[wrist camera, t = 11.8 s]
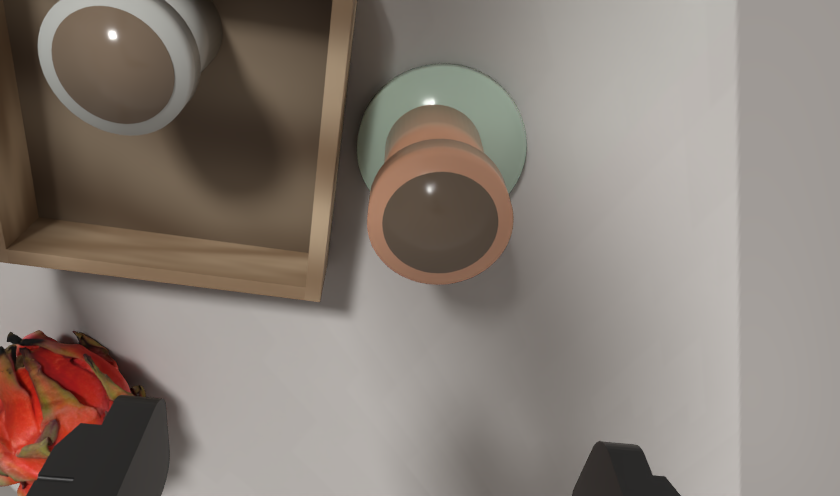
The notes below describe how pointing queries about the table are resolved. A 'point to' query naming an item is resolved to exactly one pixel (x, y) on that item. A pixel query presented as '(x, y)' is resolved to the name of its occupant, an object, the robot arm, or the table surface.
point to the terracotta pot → (438, 199)
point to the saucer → (455, 90)
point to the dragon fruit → (50, 398)
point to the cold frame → (186, 159)
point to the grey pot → (128, 59)
